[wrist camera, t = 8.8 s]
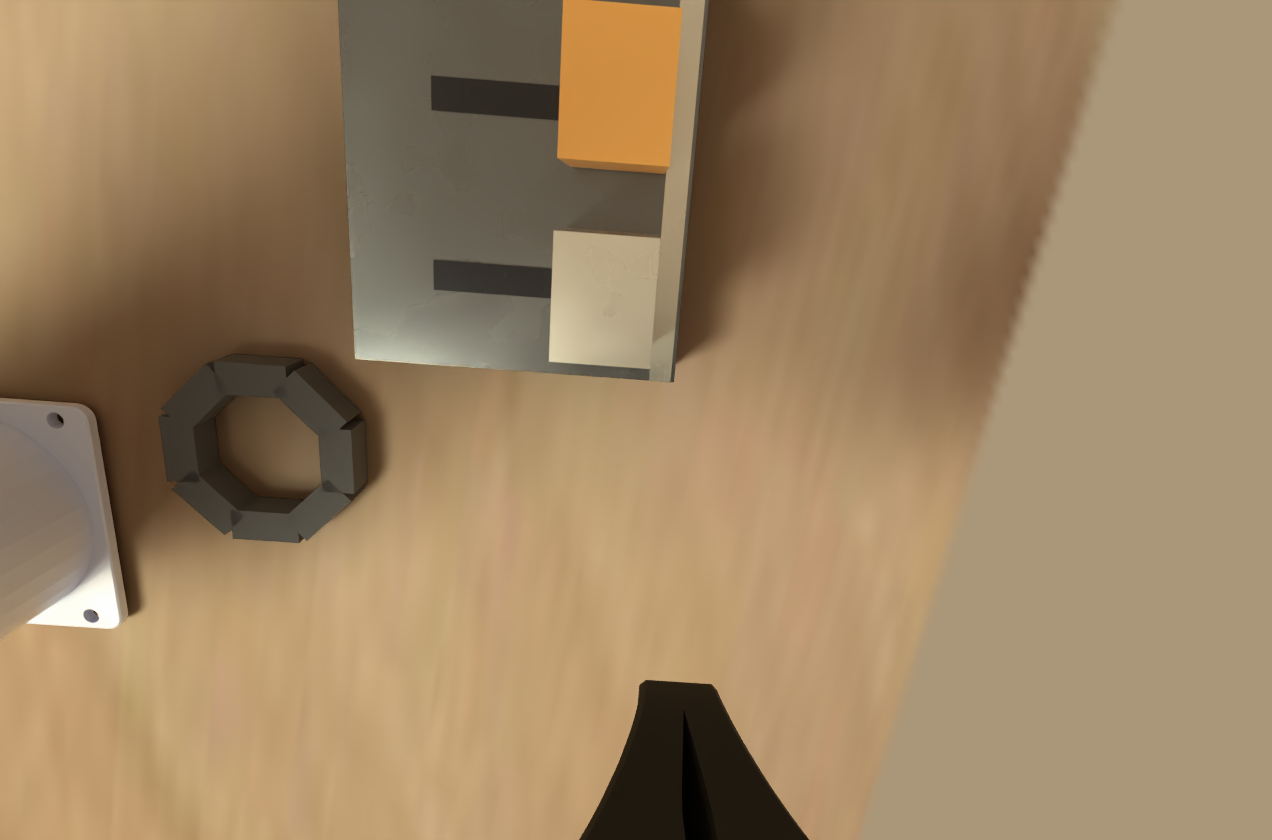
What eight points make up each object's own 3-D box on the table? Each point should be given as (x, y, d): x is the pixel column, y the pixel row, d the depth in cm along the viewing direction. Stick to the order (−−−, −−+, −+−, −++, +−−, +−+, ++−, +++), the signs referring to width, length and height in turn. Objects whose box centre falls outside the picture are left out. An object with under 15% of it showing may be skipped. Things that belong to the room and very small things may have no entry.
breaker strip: (380, 345, 21) (304, 385, 16) (360, -208, 17) (251, -373, 12) (670, 366, 21) (679, 411, 16) (719, -177, 17) (751, -327, 12)
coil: (196, 519, 23) (174, 534, 22) (175, 349, 21) (150, 356, 20) (369, 531, 23) (356, 546, 22) (362, 362, 21) (348, 371, 20)
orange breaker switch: (570, 166, 17) (557, 158, 14) (576, 34, 16) (563, -2, 14) (664, 173, 17) (669, 166, 15) (675, 43, 17) (682, 8, 14)
